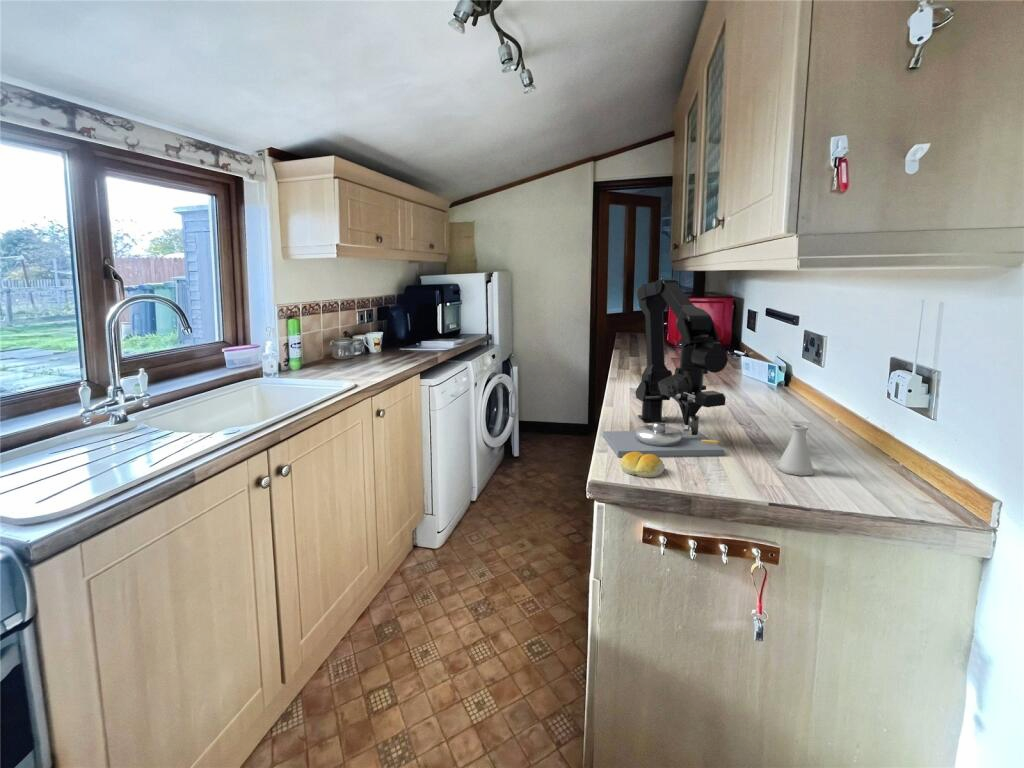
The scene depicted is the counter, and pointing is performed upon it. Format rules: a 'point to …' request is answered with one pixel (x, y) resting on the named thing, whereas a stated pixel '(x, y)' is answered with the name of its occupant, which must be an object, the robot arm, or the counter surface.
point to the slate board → (688, 447)
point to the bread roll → (642, 464)
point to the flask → (796, 454)
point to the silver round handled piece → (666, 433)
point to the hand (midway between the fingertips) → (686, 424)
